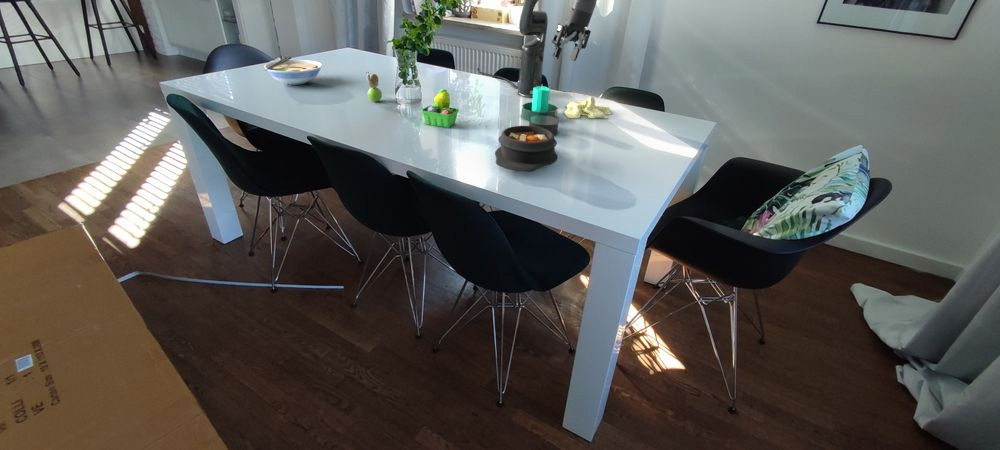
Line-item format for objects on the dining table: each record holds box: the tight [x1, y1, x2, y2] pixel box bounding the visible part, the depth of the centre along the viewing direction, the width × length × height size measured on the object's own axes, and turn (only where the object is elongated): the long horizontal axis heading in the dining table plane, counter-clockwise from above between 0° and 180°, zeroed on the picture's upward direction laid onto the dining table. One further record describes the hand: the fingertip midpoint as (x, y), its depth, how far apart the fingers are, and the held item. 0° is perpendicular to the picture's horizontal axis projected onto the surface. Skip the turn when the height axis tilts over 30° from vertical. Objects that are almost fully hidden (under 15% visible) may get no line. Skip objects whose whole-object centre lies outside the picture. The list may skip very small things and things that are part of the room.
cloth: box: [564, 96, 612, 119], centre depth 185 cm, size 22×19×6 cm
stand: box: [528, 115, 560, 136], centre depth 164 cm, size 11×11×4 cm
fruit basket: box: [420, 88, 459, 128], centre depth 164 cm, size 11×9×11 cm
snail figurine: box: [365, 71, 383, 103], centre depth 183 cm, size 5×6×12 cm
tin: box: [521, 101, 559, 122], centre depth 178 cm, size 13×13×4 cm
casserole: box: [494, 125, 559, 173], centre depth 139 cm, size 25×19×8 cm
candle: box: [531, 85, 551, 112], centre depth 176 cm, size 6×6×12 cm
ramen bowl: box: [263, 56, 323, 86], centre depth 203 cm, size 25×23×8 cm
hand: (563, 59), depth 158 cm, fingers open, 8 cm apart
